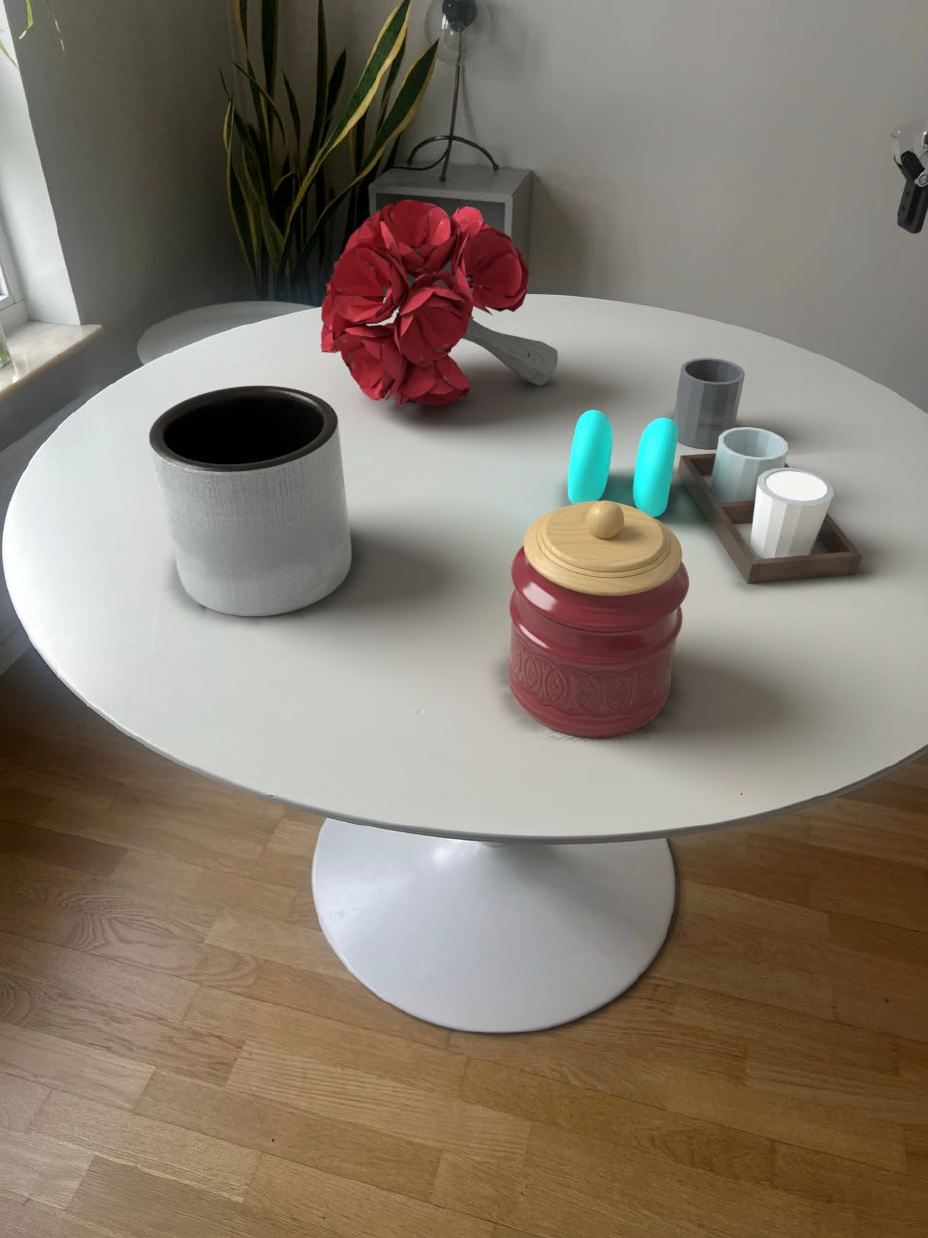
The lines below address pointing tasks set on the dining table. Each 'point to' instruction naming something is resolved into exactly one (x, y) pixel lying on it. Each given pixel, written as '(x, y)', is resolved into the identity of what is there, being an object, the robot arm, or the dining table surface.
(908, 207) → the robot arm
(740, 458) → the glass
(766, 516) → the white cup
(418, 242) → the bouquet
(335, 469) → the planter
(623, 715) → the kitchen canister
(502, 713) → the dining table surface
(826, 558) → the glass rack
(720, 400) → the grey cup
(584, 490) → the cyan rounded forked piece
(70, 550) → the dining table surface
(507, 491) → the dining table surface
